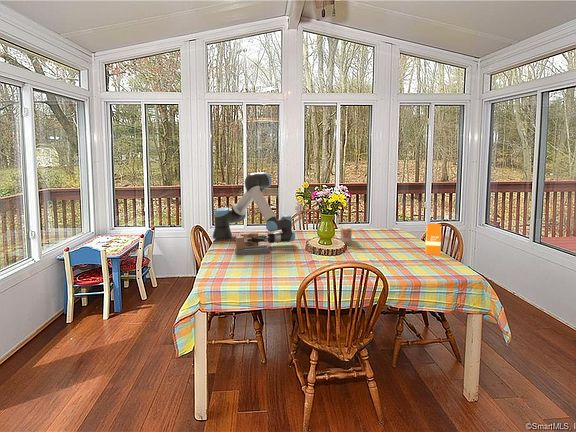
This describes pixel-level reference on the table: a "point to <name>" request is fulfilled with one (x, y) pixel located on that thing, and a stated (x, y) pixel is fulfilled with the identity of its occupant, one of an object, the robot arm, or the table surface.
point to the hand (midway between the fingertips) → (242, 239)
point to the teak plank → (250, 235)
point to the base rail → (249, 248)
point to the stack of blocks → (346, 234)
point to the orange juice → (433, 239)
